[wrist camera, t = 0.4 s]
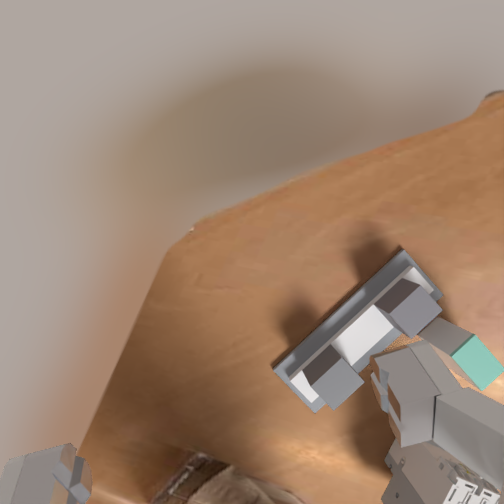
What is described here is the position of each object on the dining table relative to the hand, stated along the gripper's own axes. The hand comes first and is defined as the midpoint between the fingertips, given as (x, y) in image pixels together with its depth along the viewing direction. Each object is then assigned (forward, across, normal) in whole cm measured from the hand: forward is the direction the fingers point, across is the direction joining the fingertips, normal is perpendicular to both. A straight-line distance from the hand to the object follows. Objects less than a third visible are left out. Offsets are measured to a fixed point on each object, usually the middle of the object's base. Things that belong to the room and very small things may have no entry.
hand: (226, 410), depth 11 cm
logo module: (+36, +29, -47) cm, 66 cm away
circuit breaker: (+27, +19, -64) cm, 72 cm away
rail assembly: (+38, +16, -42) cm, 59 cm away
